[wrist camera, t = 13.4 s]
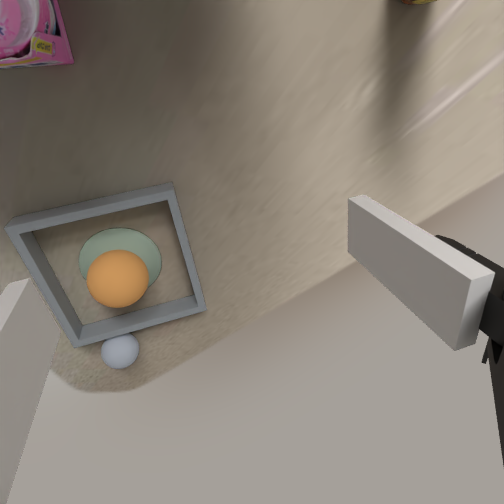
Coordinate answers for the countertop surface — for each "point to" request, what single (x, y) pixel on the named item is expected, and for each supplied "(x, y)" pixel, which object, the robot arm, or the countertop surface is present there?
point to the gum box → (32, 34)
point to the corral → (55, 295)
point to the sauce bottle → (417, 1)
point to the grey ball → (120, 351)
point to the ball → (117, 278)
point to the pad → (121, 241)
